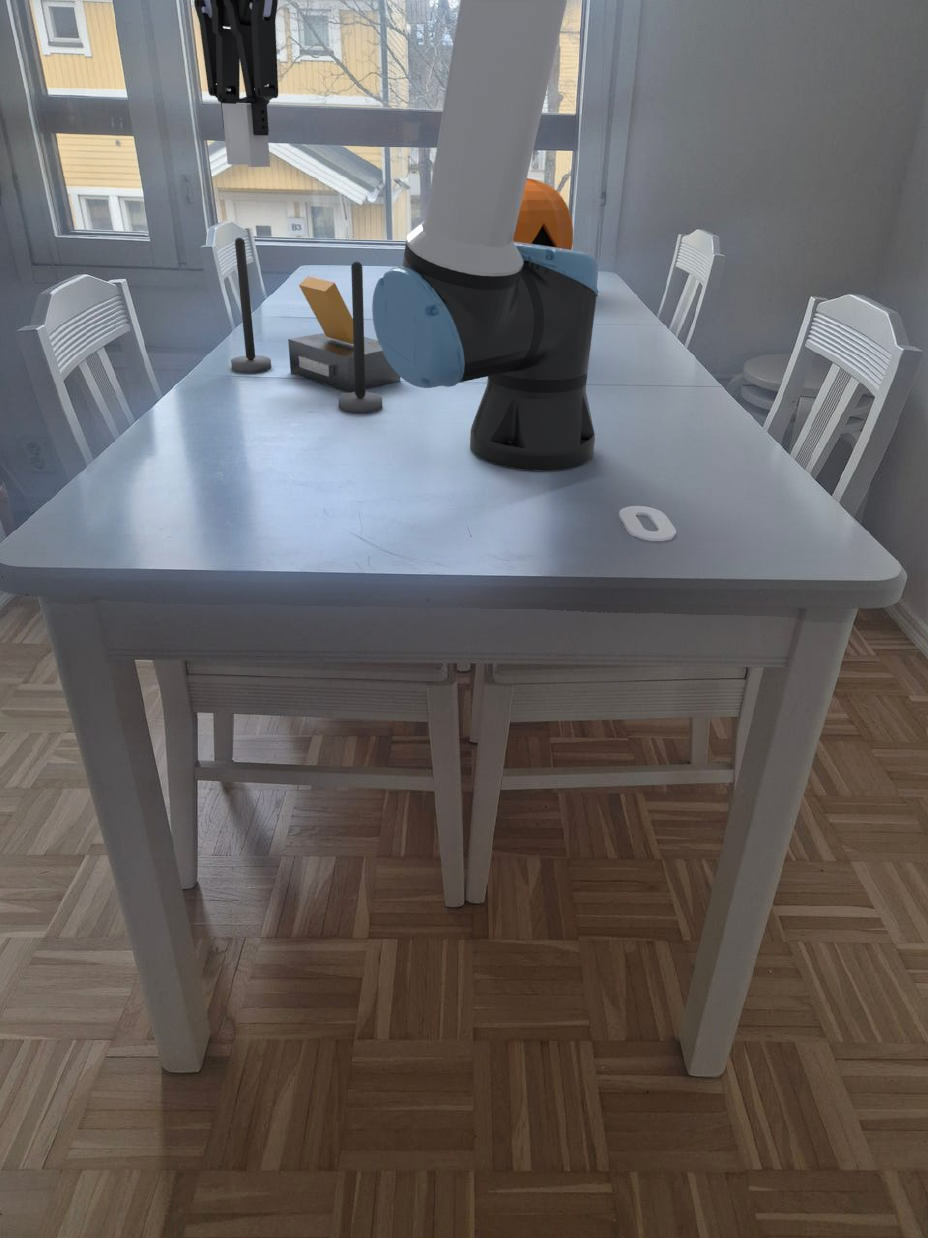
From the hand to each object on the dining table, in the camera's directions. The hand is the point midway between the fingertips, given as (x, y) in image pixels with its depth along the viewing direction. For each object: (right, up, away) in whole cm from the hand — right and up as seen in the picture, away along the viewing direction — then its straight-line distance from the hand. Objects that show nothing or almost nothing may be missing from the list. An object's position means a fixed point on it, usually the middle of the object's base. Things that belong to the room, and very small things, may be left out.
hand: (248, 164), depth 104 cm
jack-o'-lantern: (+37, +18, +88) cm, 97 cm away
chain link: (+45, -47, -19) cm, 68 cm away
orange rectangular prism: (+9, -14, +21) cm, 27 cm away
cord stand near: (+13, -27, +11) cm, 32 cm away
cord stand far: (-6, -17, +26) cm, 32 cm away
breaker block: (+9, -19, +24) cm, 32 cm away
